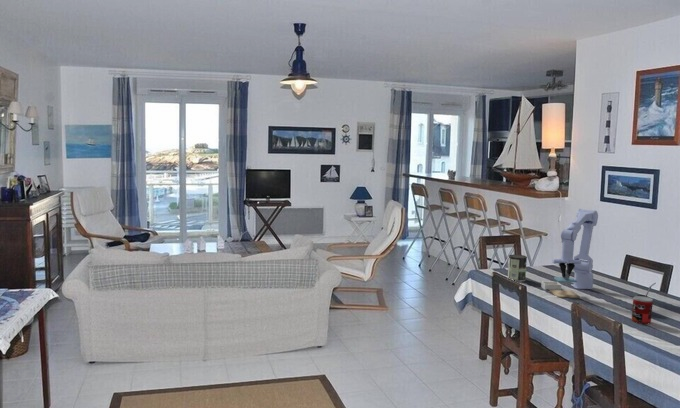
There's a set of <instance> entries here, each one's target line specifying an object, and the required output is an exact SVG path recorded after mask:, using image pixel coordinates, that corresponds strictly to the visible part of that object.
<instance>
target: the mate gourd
mask: <svg viewBox="0 0 680 408" xmlns="http://www.w3.org/2000/svg"><path fill="white" fill-rule="evenodd" d="M656 283H657V282H654V283H652V284H651V285H650V286H649V288H648V290H647V292H646V294H636V295H635V296H643V297H648V298H650V297H649V296H648V294H649V292H650V290H652V287H653V286H654V285H656Z"/></svg>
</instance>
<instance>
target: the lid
mask: <svg viewBox="0 0 680 408" xmlns="http://www.w3.org/2000/svg"><path fill="white" fill-rule="evenodd" d="M553 278H554V280H555V281H556V282H558V283H574V282H577V281H576V280H575V279H574V278H573V277H569V274H567V272H565V277H562V276H561V277H560V276H554V277H553Z"/></svg>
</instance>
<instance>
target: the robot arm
mask: <svg viewBox="0 0 680 408" xmlns="http://www.w3.org/2000/svg"><path fill="white" fill-rule="evenodd" d="M598 219H599V213H598V211H597V210H592V209H582V208H579V209H577V212H576V219H575V220H574V221H572V222H570V224H569V226H567V228H566V229H563V230H562V231H561V234H560V238H561V244H562V246H561V258H559V259H557V258H556V259H554V258H553V259H552V264H553V265H554V264H555V265H556V264H557V265H558V266H559V268H560V272H561V277H565V273H567V274H569V278H571V277H570V276H571V273H572V271H573V272H574V274H573V275H574V278H573V279H575V280H576V281H577V282H573V283H572V284H570V285H571V286H572V287H573V288H574V289H577V290H581V289H582V290H593V289H594V288H593V285H594V274H593V272H592V270H593V266H594V264H593V262H594V261H593V258H592V257H591V256H590V255H589V254H590V253H589V252H590V248H591V241H592V236H593V230H594V227H596V226H597V224H598ZM582 226H583V229H582ZM581 230H582V234H581V241H580V246H579V252H578V254H577V255H575V256H574V250H575V241H576V240H577V236H578V233H579V232H580V231H581Z"/></svg>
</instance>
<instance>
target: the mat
mask: <svg viewBox="0 0 680 408" xmlns="http://www.w3.org/2000/svg"><path fill="white" fill-rule="evenodd" d="M549 293H551V294H553V295H554V296H555V297H556V296H557V297H556V298H565V299H566V298H568V299H569V298H572V299H580V298H581V296H580V295H578V294H577V293H576V292H574V291H572V290H565V289H564V290H563V289H561V290H549Z"/></svg>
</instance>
